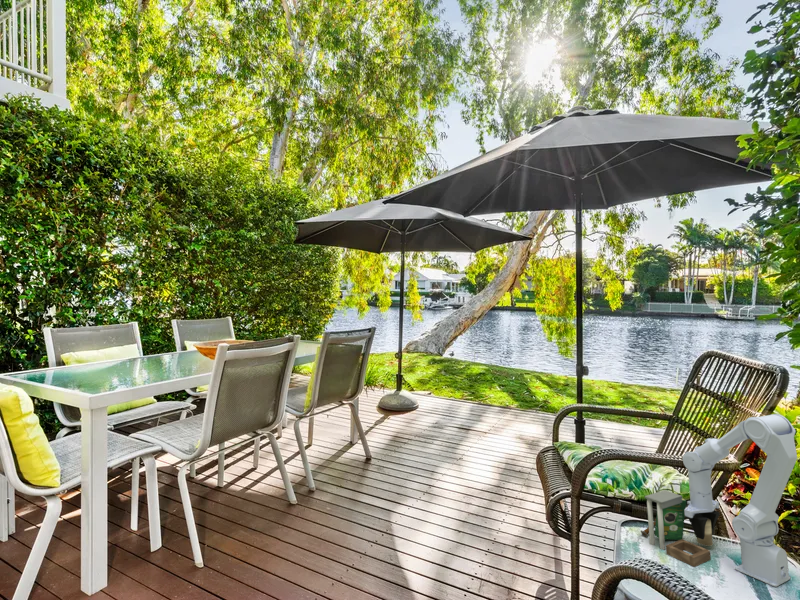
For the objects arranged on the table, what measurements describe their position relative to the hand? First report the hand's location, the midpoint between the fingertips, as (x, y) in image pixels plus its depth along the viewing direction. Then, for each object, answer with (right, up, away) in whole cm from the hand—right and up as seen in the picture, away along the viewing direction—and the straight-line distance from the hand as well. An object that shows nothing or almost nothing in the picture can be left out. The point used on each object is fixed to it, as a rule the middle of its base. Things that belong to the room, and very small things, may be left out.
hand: (704, 536), depth 132 cm
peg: (0, -2, 0) cm, 2 cm away
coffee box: (-8, -4, +5) cm, 10 cm away
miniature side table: (-10, -4, +3) cm, 11 cm away
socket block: (-9, -3, -5) cm, 11 cm away
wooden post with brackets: (-11, -5, +9) cm, 15 cm away
